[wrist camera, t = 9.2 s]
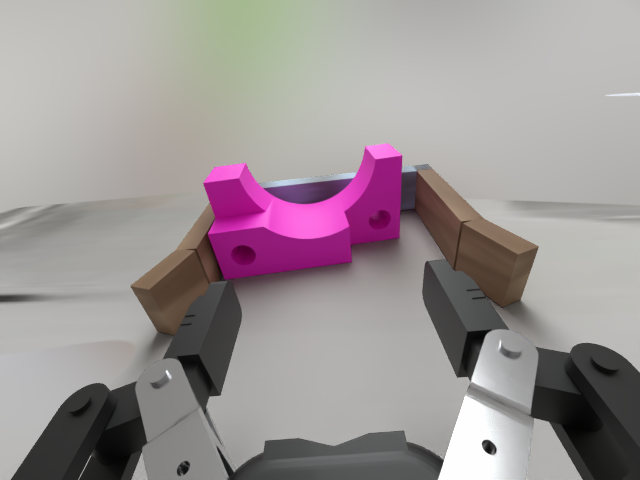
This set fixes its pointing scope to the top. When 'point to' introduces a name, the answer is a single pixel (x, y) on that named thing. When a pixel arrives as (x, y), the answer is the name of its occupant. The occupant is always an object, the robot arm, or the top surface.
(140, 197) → the top surface
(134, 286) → the cradle
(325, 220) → the magenta saddle bracket
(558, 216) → the top surface
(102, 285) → the top surface
